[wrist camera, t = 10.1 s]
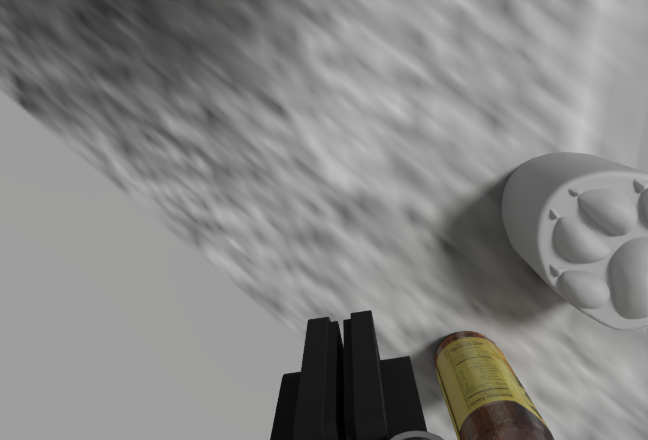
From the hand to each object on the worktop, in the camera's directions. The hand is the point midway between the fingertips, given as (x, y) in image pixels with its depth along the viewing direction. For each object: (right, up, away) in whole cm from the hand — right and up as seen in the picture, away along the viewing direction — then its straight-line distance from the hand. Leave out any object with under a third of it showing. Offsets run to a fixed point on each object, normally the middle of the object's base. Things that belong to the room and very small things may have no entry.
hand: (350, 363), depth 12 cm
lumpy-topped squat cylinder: (+20, +4, +27) cm, 34 cm away
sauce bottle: (+13, -9, +31) cm, 35 cm away
